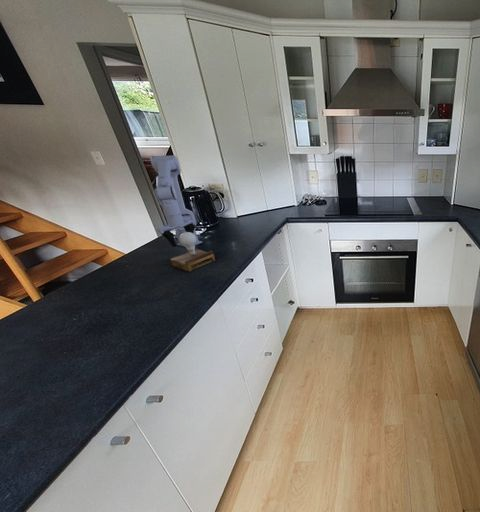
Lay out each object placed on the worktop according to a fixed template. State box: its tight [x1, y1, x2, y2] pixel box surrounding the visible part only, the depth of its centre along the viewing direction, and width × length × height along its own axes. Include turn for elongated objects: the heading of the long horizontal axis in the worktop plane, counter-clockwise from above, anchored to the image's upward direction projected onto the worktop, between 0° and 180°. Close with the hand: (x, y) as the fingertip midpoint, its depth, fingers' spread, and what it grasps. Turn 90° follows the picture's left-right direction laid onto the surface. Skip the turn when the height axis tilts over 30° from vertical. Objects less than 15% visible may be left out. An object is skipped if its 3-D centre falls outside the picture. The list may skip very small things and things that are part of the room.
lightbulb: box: [179, 232, 197, 255], centre depth 122 cm, size 6×6×11 cm
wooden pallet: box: [170, 248, 216, 273], centre depth 123 cm, size 12×12×5 cm
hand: (182, 243), depth 124 cm, fingers open, 7 cm apart
